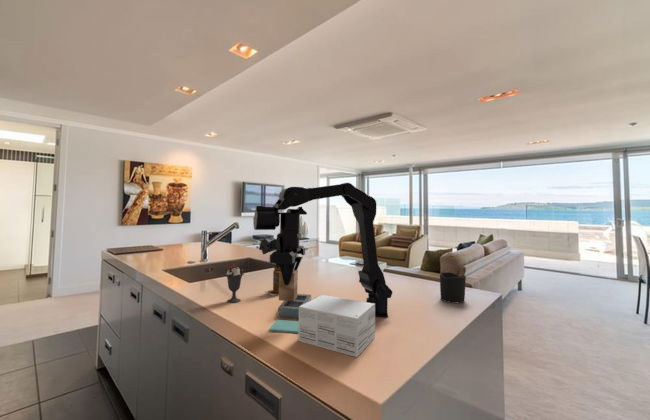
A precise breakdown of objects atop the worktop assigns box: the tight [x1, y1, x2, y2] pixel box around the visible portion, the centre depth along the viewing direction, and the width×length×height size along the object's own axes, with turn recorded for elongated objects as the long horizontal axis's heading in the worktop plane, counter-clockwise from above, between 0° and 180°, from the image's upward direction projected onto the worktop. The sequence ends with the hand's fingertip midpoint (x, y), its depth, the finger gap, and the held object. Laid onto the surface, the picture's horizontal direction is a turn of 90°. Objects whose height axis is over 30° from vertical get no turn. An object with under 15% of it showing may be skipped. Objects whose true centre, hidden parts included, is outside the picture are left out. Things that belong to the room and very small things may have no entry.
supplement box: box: [297, 294, 376, 358], centre depth 74 cm, size 17×13×9 cm
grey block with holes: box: [277, 293, 312, 320], centre depth 96 cm, size 8×16×3 cm, turn 173°
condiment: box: [265, 263, 281, 297], centre depth 116 cm, size 7×8×12 cm
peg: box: [278, 269, 299, 302], centre depth 81 cm, size 4×4×8 cm
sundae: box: [224, 260, 245, 304], centre depth 104 cm, size 7×7×15 cm
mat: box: [268, 319, 299, 334], centre depth 81 cm, size 9×7×1 cm
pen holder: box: [439, 271, 467, 303], centre depth 110 cm, size 9×9×10 cm
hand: (288, 282), depth 81 cm, fingers closed on peg, 4 cm apart
